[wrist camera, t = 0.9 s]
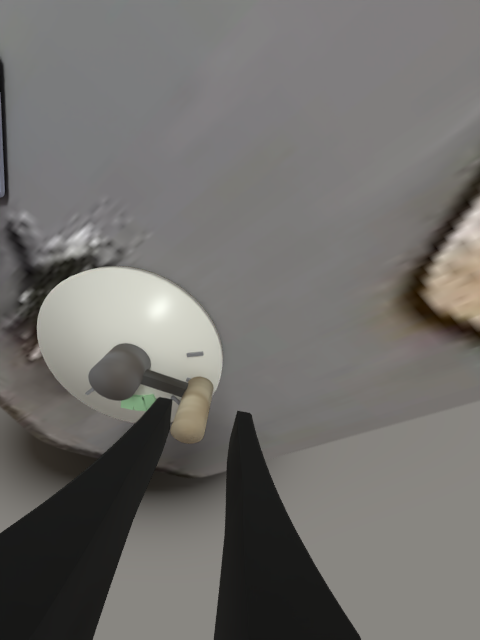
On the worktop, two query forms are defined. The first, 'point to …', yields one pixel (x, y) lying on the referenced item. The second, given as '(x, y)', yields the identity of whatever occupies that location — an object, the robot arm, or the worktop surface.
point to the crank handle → (134, 369)
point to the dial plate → (126, 334)
